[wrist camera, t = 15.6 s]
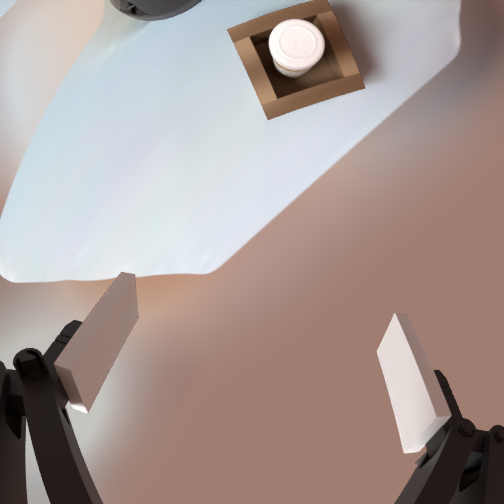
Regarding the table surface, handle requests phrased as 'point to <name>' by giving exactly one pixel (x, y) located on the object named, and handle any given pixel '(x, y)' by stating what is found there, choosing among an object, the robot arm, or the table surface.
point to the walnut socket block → (315, 80)
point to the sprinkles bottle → (295, 47)
